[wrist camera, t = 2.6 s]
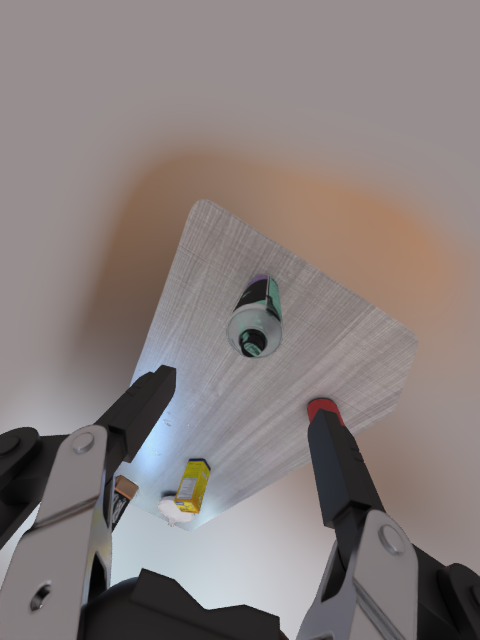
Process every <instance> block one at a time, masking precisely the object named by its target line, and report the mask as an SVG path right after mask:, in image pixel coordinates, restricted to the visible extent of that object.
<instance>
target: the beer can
mask: <svg viewBox="0 0 480 640" xmlns="http://www.w3.org/2000/svg"><path fill="white" fill-rule="evenodd" d="M319 408H322V409H326V410H329V411H333V412H336V413H337V415H338V417H339V420H340V423H341V425H343V426H345V425H344V422H343V420H342V417H341V415H340V412H339V410H338V408H337V405H336V404H335V403H334V402H332V401H330V400H327V399H316V400H314V401H312V402H311V403H310V404H309V405H308V408H307V411H308V416H309V421H310V423H311V421H312V419H313V418H314V416H315V414H316V412H317V411H318V409H319Z"/></svg>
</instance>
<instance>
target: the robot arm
mask: <svg viewBox="0 0 480 640" xmlns="http://www.w3.org/2000/svg"><path fill="white" fill-rule="evenodd" d="M175 388H176V368H173V367H169V366H166V365H161V366H160V367H159V368H158V369H157V370H156V371H155V373H153V372H148V373H146V374H144V375H143V376H141V377H139V378H138V379H137V380H136V381H135V382H134V383H133V385H132V386H131V387H130V388H129V389H128V390H127V391H126V392H125V393H124V394H123V395H122V396H121V397H120V398H119V399H118V400H117V401H116V402H115V403H114V404H113V405H112V406H111V407H110V408H109V409H108V410H107V411H106V412H105V413H104V414H103V415H102V416H101V417H100V418H99V419H98V420H97V421H96V422H95V423H94V424H93V425H88V426H85V427H82V428H80V429H78V430H76V431H75V432H73V433H72V434H68V435H53V436H39V434H38V432H37V430H36V429H34V428H32V427H22V428H17V429H13V430H10V431H8V432H5V433H3V434H1V435H0V550H1V549H2V547H3V546H4V545H5V544H6V542H7V541H8V540H9V539H10V538H11V537H12V535H13V534H14V533H15V532H16V531H17V529H18V528H19V527H20V526H21V525H22V523H23V522H24V521H25V520H26V519H27V517H28V516H29V515H30V514H31V513H32V511H33V510H34V509H35V508H36V507H37V505H38V504H39V503H40V502H41V504H40V508H39V510H38V513H37V516H36V519H35V522H34V524H33V525H32V527H31V528H30V529H29V530H27V531H26V532H25V533H24V534H23V535H22V537H21V538H20V540H19V542H18V544H17V546H16V549H15V551H14V553H13V556H12V559H11V561H10V564H9V567H8V570H7V573H6V576H5V579H4V582H3V584H2V587H1V590H0V640H289V639H288V638H287V637H286V636H285V634H284V633H283V632H282V631H281V630H280V618H279V617H278V616H275V615H273V614H269V613H267V612H264V611H261V610H258V609H256V608H253V607H250V606H247V605H238V606H230V607H224V608H217V609H211V610H207V609H204V608H203V607H202V606H201V605H200V604H199V603H198V602H197V601H196V600H195V599H194V598H193V597H192V596H191V595H190V594H189V593H188V592H187V591H186V590H185V589H184V588H183V587H181V585H180V584H179V583H178V582H177V581H176V580H175V579H172V578H169V577H166V576H164V575H161V574H158V573H155V572H152V571H150V570H147V569H144V568H142V569H141V572H140V574H139V577H134V578H130V579H127V580H124V581H122V582H120V583H118V584H116V585H114V586H112V587H110V578H111V563H112V515H113V501H114V487H115V471H116V470H117V468H118V467H119V465H120V464H121V463H122V461H125V462H128V463H131V462H132V460H133V459H134V457H135V455H136V454H137V452H138V451H139V449H140V448H141V446H142V444H143V443H144V441H145V440H146V438H147V437H148V435H149V434H150V432H151V430H152V429H153V427H154V426H155V424H156V423H157V421H158V419H159V418H160V416H161V415H162V413H163V412H164V410H165V408H166V407H167V405H168V404H169V402H170V401H171V399H172V397H173V395H174V392H175ZM308 442H309V448H310V453H311V458H312V464H313V469H314V474H315V480H316V485H317V491H318V495H319V501H320V507H321V512H322V518H323V523H324V526H326V527H329V528H332V529H335V533H336V538H337V539H336V540H335V542H334V545H333V547H332V551H331V553H330V556H329V559H328V562H327V565H326V568H325V571H324V574H323V577H322V580H321V583H320V586H319V589H318V592H317V594H316V597H315V599H314V602H313V604H312V606H311V607H310V609H309V610H308V612H307V613H306V615H305V617H304V620H303V622H302V624H301V626H300V629H299V632H298V635H297V637H296V640H480V576H478V575H477V574H476V573H475V572H473V571H472V570H471V569H469V568H468V567H466V566H464V565H462V564H459V563H454V564H451V565H449V566H444V565H443V564H441V563H440V562H438V561H437V560H436V559H434V558H433V557H431V556H429V555H428V554H427V553H425V552H424V551H422V550H421V549H419V548H418V547H416V546H415V545H414V544H412V543H411V542H410V540H409V538H408V537H407V535H406V534H405V532H404V531H403V529H402V528H401V527H400V526H399V525H398V523H397V522H395V520H393V519H392V518H391V517H390V516H389V515H388V514H387V513H386V511H385V510H384V507H383V505H382V503H381V500H380V498H379V496H378V493H377V491H376V488H375V486H374V484H373V481H372V479H371V477H370V474H369V472H368V469H367V467H366V465H365V463H364V460H363V458H362V455H361V453H360V452H359V448H358V446H357V443H356V441H355V439H354V437H353V436H352V434H351V433H350V432H349V430H348V429H347V427H346V426H343V425H341V423H340V420H339V417H338V415H337V413H336V412H333V411H329V410H326V409H322V408H319V409H318V411H317V412H316V414H315V416H314V418H313V419H312V421H311V423H310V425H309V427H308ZM40 605H43V606H42V607H41V608H40Z"/></svg>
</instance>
